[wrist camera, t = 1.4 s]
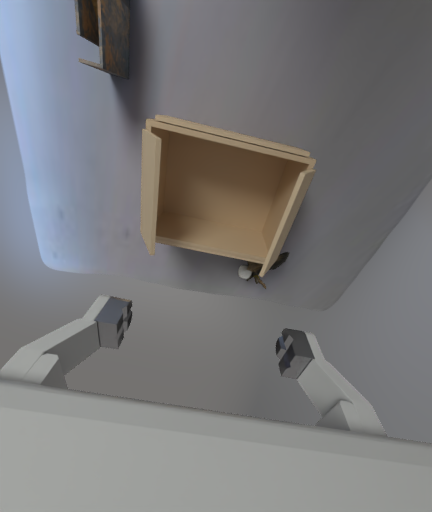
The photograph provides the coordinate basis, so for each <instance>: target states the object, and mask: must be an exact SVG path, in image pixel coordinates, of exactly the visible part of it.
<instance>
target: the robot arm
mask: <svg viewBox="0 0 432 512" xmlns="http://www.w3.org/2000/svg"><path fill="white" fill-rule="evenodd" d="M131 307H132V301H131V300H126V299H121V298H117V297H111V296H106V295H100V296H99V297H98V298H97V299H96V301H95V302H94V303H93V305H92V306H91V307H90V309H89V310H88V311H87V313H86V314H85V315H84V317H83V318H82V319H77V320H75V321H73V322H71V323H69V324H67V325H65V326H63V327H61V328H59V329H57V330H55V331H53V332H51V333H49V334H47V335H46V336H43V337H42V338H39V339H37V340H36V341H34V342H32V343H30V344H28V345H26V346H24V347H22V348H20V349H19V350H18V352H17V353H16V354H15V355H14V356H13V357H12V358H11V359H10V360H9V361H8V362H7V363H6V364H5V366H4V367H3V368H2V369H1V370H0V512H432V443H426V442H420V441H413V440H406V439H400V438H393V437H388V436H387V434H386V433H385V431H384V429H383V427H382V425H381V423H380V421H379V419H378V417H377V415H376V413H375V411H374V409H373V407H372V405H371V404H370V403H369V402H368V401H367V400H366V399H365V398H364V397H363V396H362V395H361V394H360V393H359V392H358V391H357V390H356V389H355V388H354V387H353V386H352V385H351V384H350V383H349V382H348V381H347V380H346V379H345V378H344V377H343V376H342V375H341V374H340V373H339V372H338V371H337V370H336V369H335V368H334V367H333V366H332V365H331V364H330V363H329V362H327V361H325V359H324V356H323V354H322V352H321V349H320V347H319V345H318V342H317V340H316V338H315V335H314V334H313V333H310V332H304V331H299V330H292V329H287V328H285V329H284V330H283V331H282V336H281V337H279V338H278V340H277V342H276V354H277V357H278V358H279V359H280V362H279V368H280V373H281V376H283V377H288V378H293V379H297V381H298V382H299V384H300V385H301V387H302V388H303V390H304V391H305V393H306V394H307V396H308V397H309V398H310V400H311V401H312V403H313V404H314V406H315V407H316V409H317V410H318V412H319V413H320V414H321V416H322V417H323V418H322V419H321V420H319V421H318V422H317V423H316V425H315V426H312V425H305V424H299V423H292V422H285V421H279V420H272V419H265V418H259V417H252V416H245V415H239V414H232V413H225V412H218V411H212V410H205V409H198V408H192V407H185V406H178V405H172V404H165V403H157V402H151V401H144V400H138V399H131V398H124V397H118V396H111V395H104V394H98V393H91V392H84V391H78V390H70V389H68V387H67V384H66V381H65V377H64V375H66V374H67V373H68V372H69V371H70V370H72V369H73V368H75V367H76V366H77V365H79V364H80V363H81V362H82V361H84V360H85V359H86V358H87V357H89V356H90V355H91V354H92V353H94V352H95V351H96V350H98V349H99V348H100V347H106V348H113V349H118V348H119V346H120V344H121V342H122V340H123V338H124V332H125V331H127V330H128V328H129V326H130V323H131V319H132V311H131V310H130V309H131Z"/></svg>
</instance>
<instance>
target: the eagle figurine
mask: <svg viewBox="0 0 432 512" xmlns="http://www.w3.org/2000/svg"><path fill="white" fill-rule="evenodd" d="M288 256H289V253H288V252H285V253H282V254H280V255H279V256H278V258H277V260H276V261H275V263H274V264H273V265H272V266H271V267H270V269H269V270H271V269H275V268H277V267H279V266H280V265H281V264H282V263H284V262H285V261H286V259H287V257H288ZM247 262H248V266H247V265H242V266H240V267H239V271H238V273H239V276H240V277H241V278H243V279H247V281H248V280H249V279H251V278H252V277H254V278H255V282H256V284H257V283H258V282H259V283H260V284H262V285H263V287H264V288H265V289H266V285H265V284H264V283H263V282H262V281H261V280H260V278H259V276H258V275H259V274H260V272H261V269H262V267H263V264H261V263H256V262H251V261H247Z"/></svg>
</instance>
